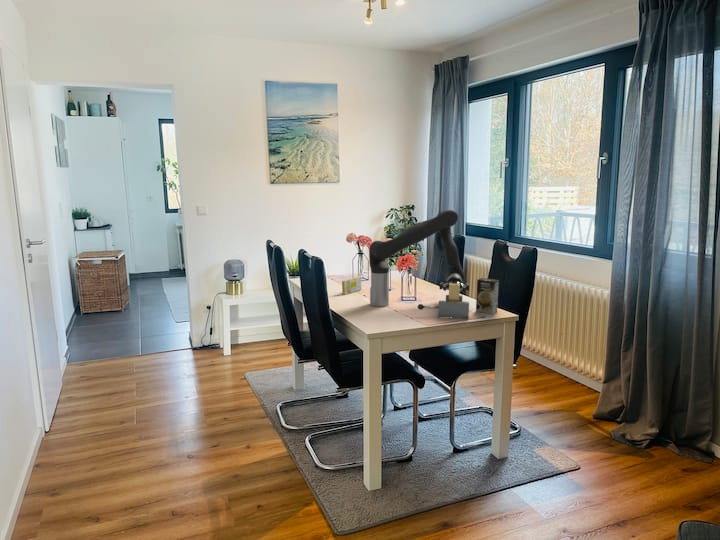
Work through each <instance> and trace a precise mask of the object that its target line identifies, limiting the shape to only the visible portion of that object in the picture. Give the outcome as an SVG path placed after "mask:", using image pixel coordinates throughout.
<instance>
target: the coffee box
mask: <svg viewBox="0 0 720 540" xmlns="http://www.w3.org/2000/svg"><path fill="white" fill-rule="evenodd" d="M476 281H477V282H476V302H475V304H476V305H475V312H478V313H482V314H483V313H484V314H489V315H490V314H492V315H494V314H495V313H497V312H498V305H499V304H498V303H499V301H498V299H499V285H500V280H499V279H493V278H485V277H484V278H483V277H481V278H478V279H476Z"/></svg>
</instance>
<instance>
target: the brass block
mask: <svg viewBox="0 0 720 540" xmlns="http://www.w3.org/2000/svg"><path fill="white" fill-rule="evenodd" d="M460 291H461V290H460V284H459V283H449V290H448V295H449V301H459V296H460V293H461V292H460Z"/></svg>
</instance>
